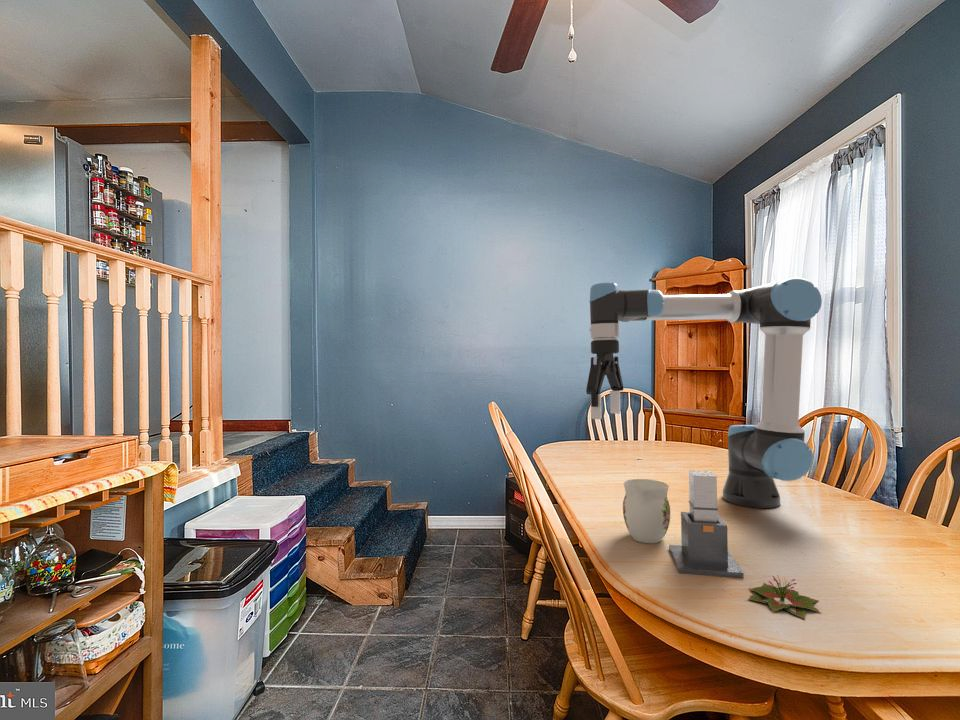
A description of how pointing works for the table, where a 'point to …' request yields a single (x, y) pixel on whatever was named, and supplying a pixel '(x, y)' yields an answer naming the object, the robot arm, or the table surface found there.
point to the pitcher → (646, 509)
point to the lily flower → (783, 598)
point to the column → (703, 496)
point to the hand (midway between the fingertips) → (606, 416)
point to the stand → (704, 549)
